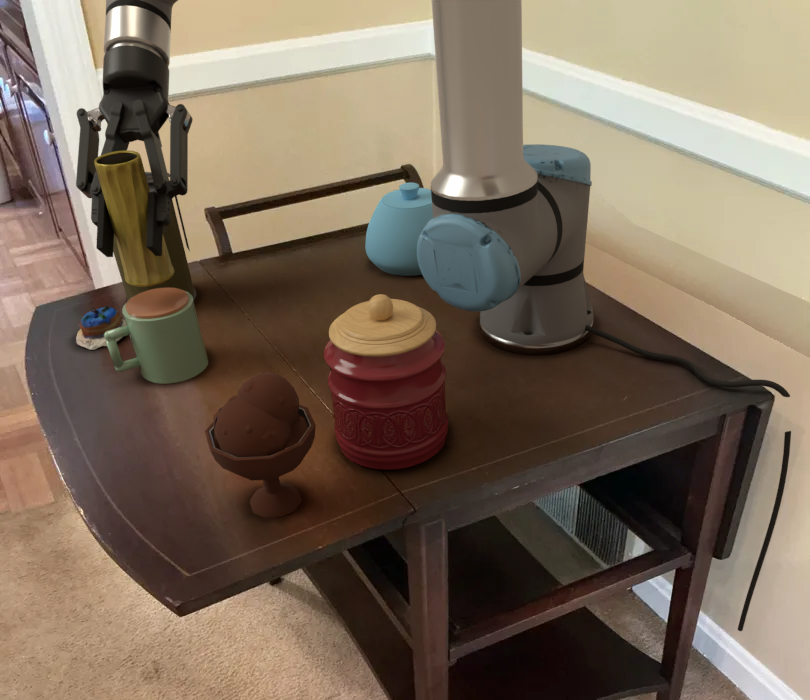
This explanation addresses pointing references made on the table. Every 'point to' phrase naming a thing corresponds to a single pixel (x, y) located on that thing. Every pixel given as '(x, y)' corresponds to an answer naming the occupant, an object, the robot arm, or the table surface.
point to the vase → (131, 217)
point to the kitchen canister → (387, 383)
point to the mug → (161, 336)
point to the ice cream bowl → (263, 439)
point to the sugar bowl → (399, 229)
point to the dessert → (98, 327)
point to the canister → (176, 255)
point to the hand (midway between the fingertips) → (129, 251)
